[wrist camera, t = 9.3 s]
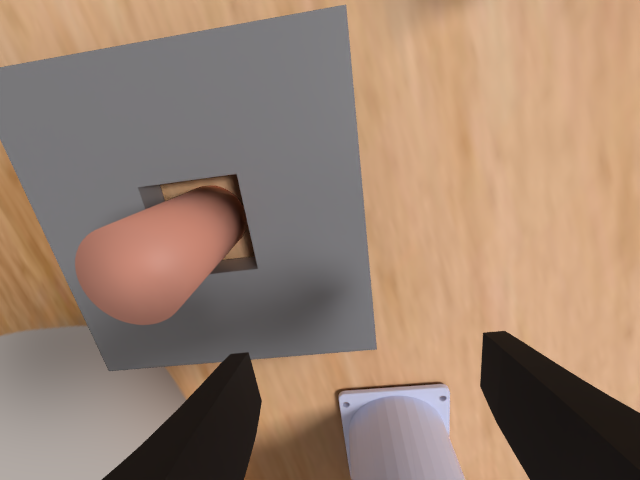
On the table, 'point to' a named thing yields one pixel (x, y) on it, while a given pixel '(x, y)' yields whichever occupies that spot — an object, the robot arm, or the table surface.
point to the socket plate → (204, 162)
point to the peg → (159, 254)
